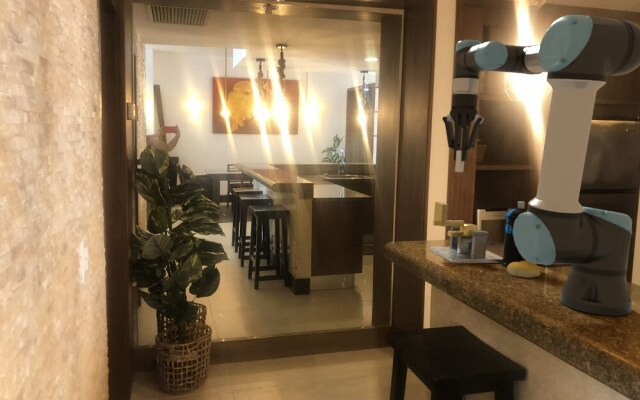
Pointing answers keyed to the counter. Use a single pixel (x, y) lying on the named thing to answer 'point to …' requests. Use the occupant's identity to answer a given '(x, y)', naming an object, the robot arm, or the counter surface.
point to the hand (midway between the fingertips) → (459, 171)
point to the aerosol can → (512, 236)
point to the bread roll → (523, 269)
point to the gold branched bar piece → (452, 222)
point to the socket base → (464, 257)
